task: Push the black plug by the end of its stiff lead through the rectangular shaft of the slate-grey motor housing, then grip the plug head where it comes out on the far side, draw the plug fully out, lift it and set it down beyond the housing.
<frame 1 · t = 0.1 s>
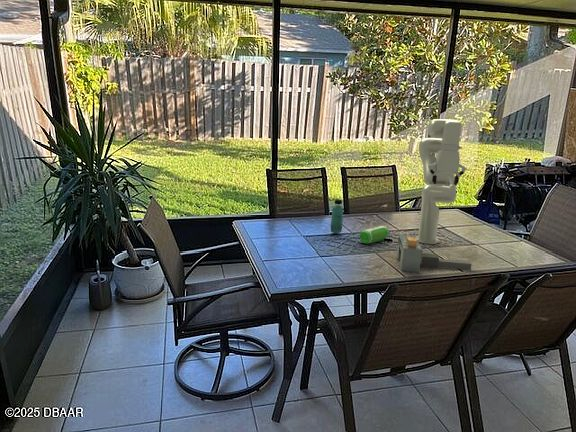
hand: (444, 184, 201), 37 cm above the table, tool pointing down, fingers open, 9 cm apart
beverage bottle: (336, 234, 240), on the table
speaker: (373, 241, 231), on the table
motor housing: (407, 263, 200), on the table
plug: (428, 265, 199), on the table
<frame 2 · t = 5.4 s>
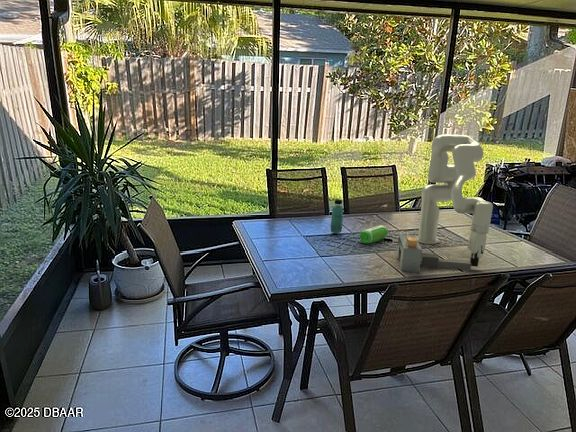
hand: (473, 265, 196), 2 cm above the table, tool pointing down, fingers closed
plug: (428, 265, 199), on the table, touching gripper
everything else where it was.
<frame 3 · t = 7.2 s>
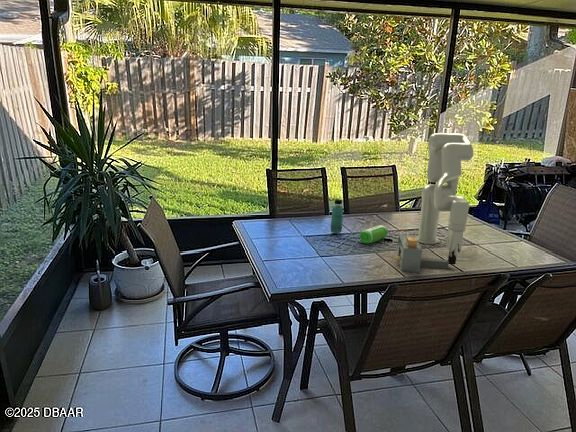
hand: (451, 263, 197), 2 cm above the table, tool pointing down, fingers closed
plug: (407, 263, 200), on the table, touching gripper
everything else where it was.
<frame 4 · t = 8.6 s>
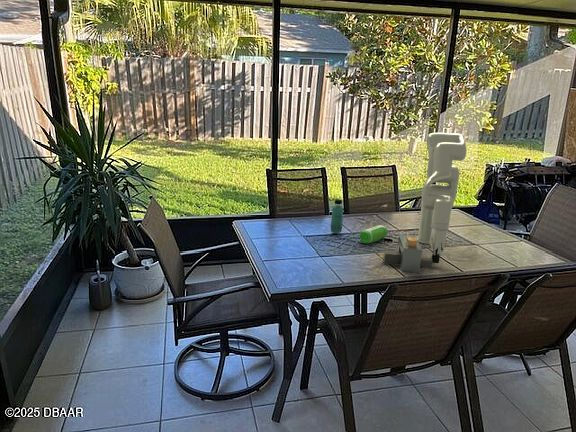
hand: (435, 262, 198), 2 cm above the table, tool pointing down, fingers closed
plug: (391, 262, 201), on the table, touching gripper
everything else where it was.
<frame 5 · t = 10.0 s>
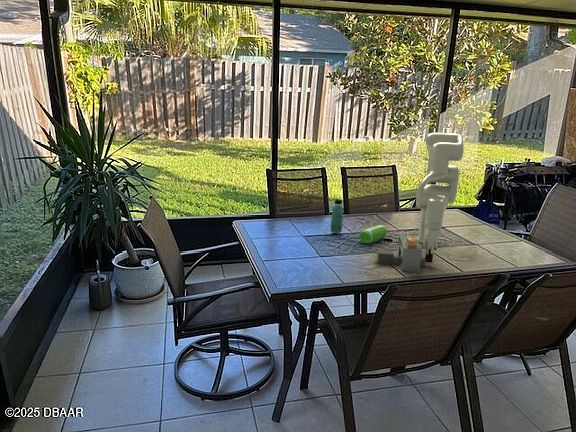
hand: (428, 261, 199), 2 cm above the table, tool pointing down, fingers closed
plug: (384, 261, 202), on the table, touching gripper
everything else where it was.
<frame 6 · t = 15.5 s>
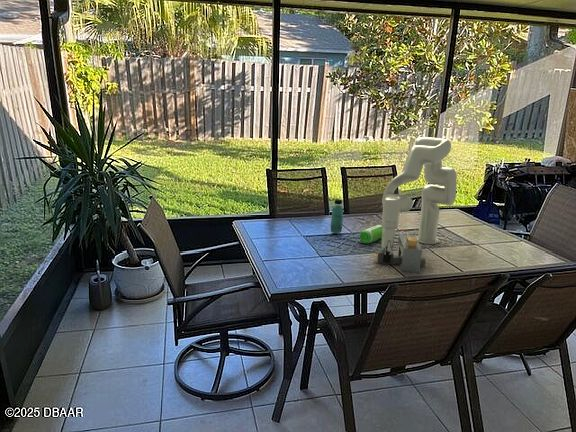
hand: (386, 259, 201), 1 cm above the table, tool pointing down, fingers closed on plug, 5 cm apart
plug: (384, 261, 202), on the table, touching gripper
when the fingers open (2 cm above the table, at t = 23.0 s): plug drops 1 cm, on the table.
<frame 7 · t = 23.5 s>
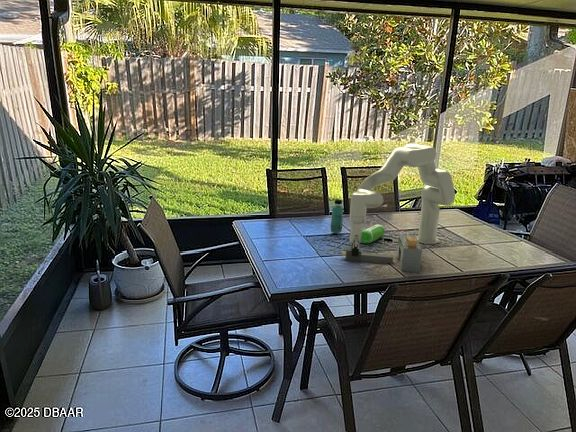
hand: (354, 252, 203), 3 cm above the table, tool pointing down, fingers open, 9 cm apart
plug: (353, 258, 204), on the table
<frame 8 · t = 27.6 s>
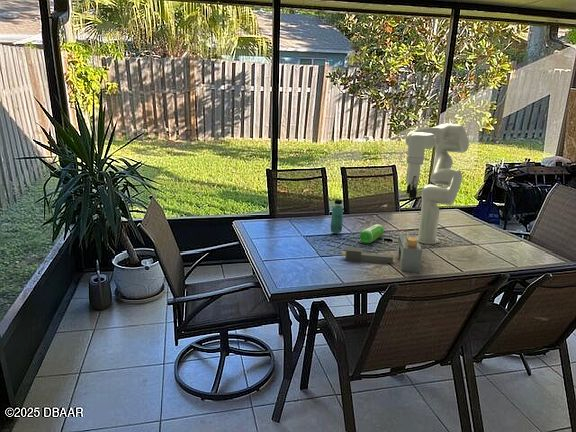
hand: (411, 195, 204), 30 cm above the table, tool pointing down, fingers open, 9 cm apart
at the end: plug inside the target area (1.7 cm from its centre), on the table; the gripper is holding nothing; plug tilted 0° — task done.
